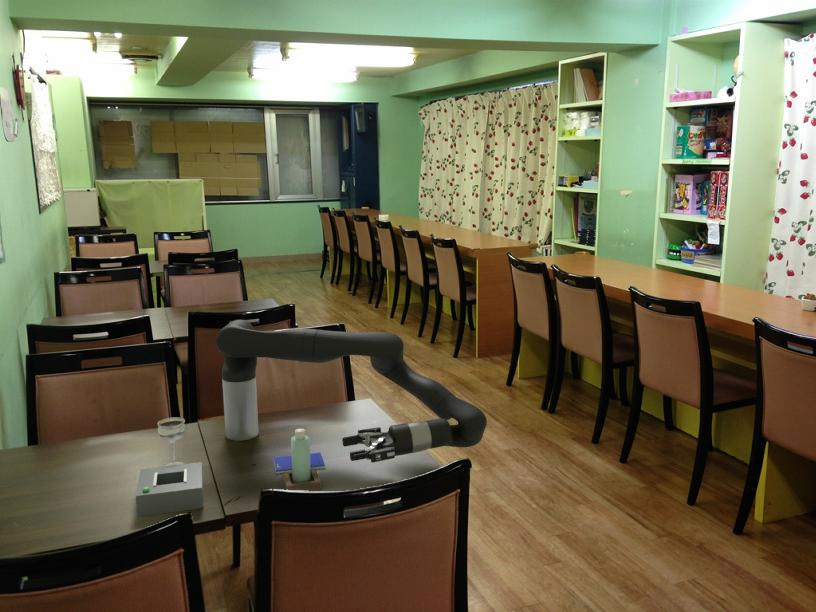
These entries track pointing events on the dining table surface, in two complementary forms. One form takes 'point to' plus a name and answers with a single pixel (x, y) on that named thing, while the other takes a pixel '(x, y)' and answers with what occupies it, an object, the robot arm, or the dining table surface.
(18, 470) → the dining table surface
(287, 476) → the box
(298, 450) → the mint green bottle
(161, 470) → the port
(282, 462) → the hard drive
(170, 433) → the wineglass
